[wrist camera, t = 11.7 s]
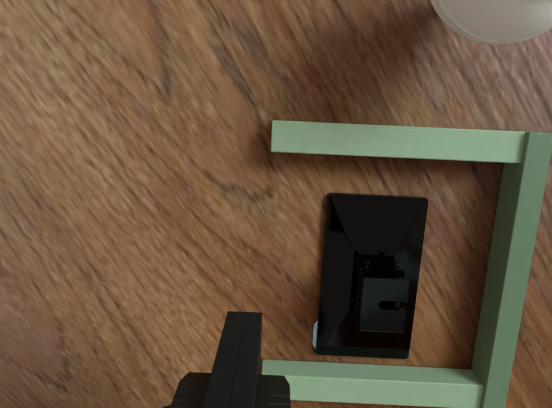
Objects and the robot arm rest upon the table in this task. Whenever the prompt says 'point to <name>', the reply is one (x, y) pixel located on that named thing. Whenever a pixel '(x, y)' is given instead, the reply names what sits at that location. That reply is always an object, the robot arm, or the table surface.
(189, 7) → the table surface
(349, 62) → the table surface
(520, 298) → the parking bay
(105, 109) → the table surface
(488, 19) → the spinning top
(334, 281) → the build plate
